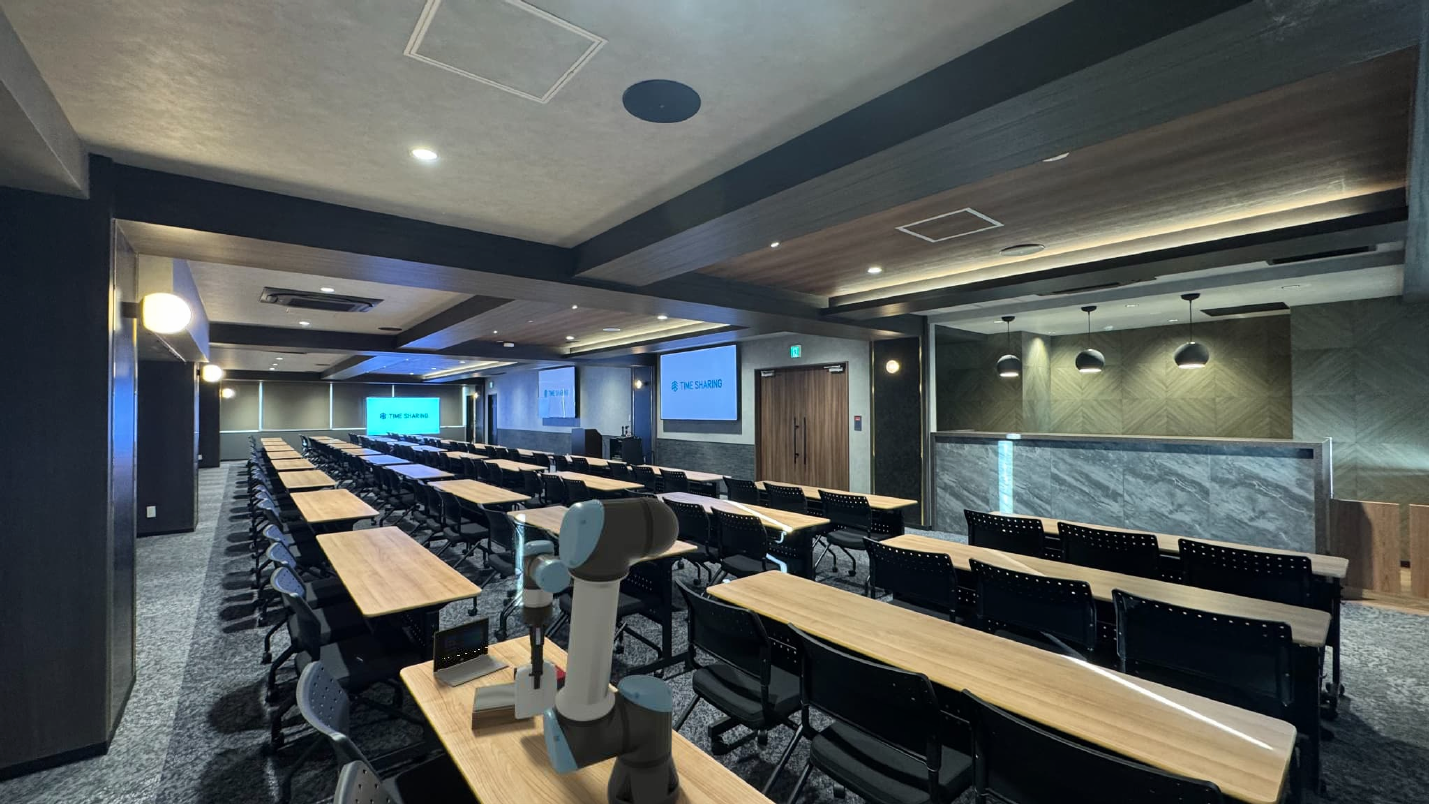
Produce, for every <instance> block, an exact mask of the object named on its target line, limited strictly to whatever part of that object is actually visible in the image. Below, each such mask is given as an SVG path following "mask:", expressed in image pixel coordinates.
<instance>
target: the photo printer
mask: <svg viewBox="0 0 1429 804" xmlns="http://www.w3.org/2000/svg"><path fill="white" fill-rule="evenodd" d="M553 663H554V662H553ZM553 663H543V676H542V701H536V702H531V676H529V673H531V672H532V664H529V665H526V666H524V667H521V668H519V669H517V674H516V677H515V680H514V682H515V717H516V718H517V719H520V718H527V717H530V718H532V717H538V716H543V714H544V712H545V711H546V710H547V709H549V708H554V707H555V699H556V695H557V693H558V690H557V670H556V668H555V664H556V663H555V664H553Z"/></svg>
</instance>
